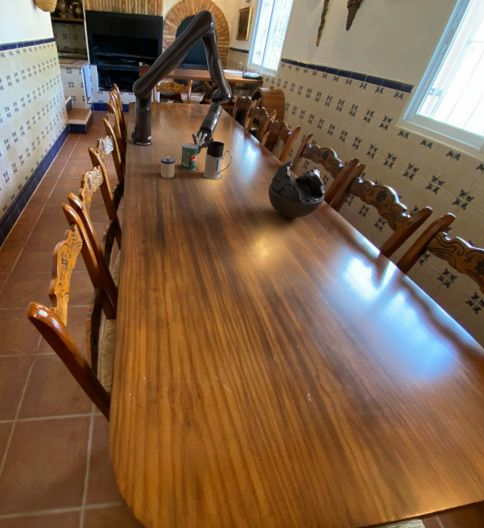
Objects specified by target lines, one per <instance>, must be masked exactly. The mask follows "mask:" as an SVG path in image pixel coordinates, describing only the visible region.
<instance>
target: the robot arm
mask: <svg viewBox="0 0 484 528" xmlns="http://www.w3.org/2000/svg"><path fill="white" fill-rule="evenodd" d="M215 20H216V19H215V16H214V15H213V13H212V12H211V11H210V10H209V9H202V10H200V11H199V12H197V14H196V15H195V16H194V17H193V19H192V20H191V22H189V25H187V27H186V28H185V30H183V31H182V32H181V33H180V35H179V36H177V37H176V38H175V39H174V40H173V41H172V42H171V43H170V44H169V45H168V46H167V47H165V49H164V51H162V52H161V54H160V55H159V56H158V57H157V59H156V60H155V61H154V63H153V64H152V66H150V68H149V69H148V70H147V71H146V72H145V73H144V74H143V75H142V76H140V77H139V78H138V79H137V80H136V81H134V83H133V85H132V93H133V95H134V97H135V101H134V102H135V103H134V126H133V131H132V132H131V136H130V137H131V139H132V140H133V141H134V144H136V145H137V146H138V145H139V146H149V145H152V106H153V90H154V88H155V87H156V86H157V85H158V84H159V83H160V82H161V81H162V80H163V79H165V78H166V77H168V76H169V75H170V74H171V73H172V72H173V71H174V70H176V69H177V67H179V65H181V63H182V62H183V61H184V60H185V58H186V57H187V56H188V54H189V52H190V51H191V50H192V48H193V47H194V46H195V45H196V44H197V43H198V42H199V41H200V40H201V41H202V44H203V47H204V51H205V57H206V62H207V63H206V64H207V69H208V73H209V77H210V82H211V84H212V85H217V87H218V88H217V89H215V90H214V91H213V92H212V94H211V97H210V102H209V103H210V104H209V107H208V109H207V112H206V113H205V115H204V117H203V120H202V122H201V124H200V125H199V129H198V131H197V132H196V133H192V134H191V136H192V140H193V144H196V145H198V155H200V154H201V152H202V149H207V147H208V142H210V141H215V139H214V138H213V135H214V133H215V131H216V128H217V126H218V124H219V120H220V118H221V115H222V113H223V106H222V104H225V103H227V102H229V101H230V100H231V99H232V97H233V96H232V95H233V93H232V88H231V86H230V84H229V82H228V80H227V78H226V76H225V72H224V66H223V62H222V59H221V55H220V52H219V48H218V43H217V42H218V41H217V36H216V21H215Z"/></svg>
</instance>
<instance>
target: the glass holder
mask: <svg viewBox="0 0 484 528" xmlns="http://www.w3.org/2000/svg"><path fill="white" fill-rule="evenodd" d="M224 148H225V143H224V142H222V141H219V140H218V141H216V140H214V141H210V142H208V147H207V148H206V153H205V160H204V161H205V162H204V170H203V174H202V177H204V178H206V179H210V180H218V179H220V178H222V176H221V172H224V171H225V170H226V169H228V168H229V167H230V165H231V164H232V161H233V153H232V151H231V150H226V151H225V152H224V150H225V149H224ZM227 153H229V154H230V160H229V163H228V165H227V166H226V167H225V168H223V169H222V165H223V160H224V159H225V158H226V154H227Z"/></svg>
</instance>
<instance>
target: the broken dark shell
mask: <svg viewBox="0 0 484 528" xmlns="http://www.w3.org/2000/svg"><path fill="white" fill-rule="evenodd" d="M292 165H293V161H287V162H285V164H282V165H280V166H278V167H277V171H276V173H275V174H274V175H273V177H272V179H271V183H270V184H269V186H268V193H267V194H268V199H269V203H270V205H271V206H272V208H273V209H274V211H276V212H277V213H278V214H280V216H284V217H286V218H290V219H298V218H303V217H306V216H309V215H310V214H312V213H314V212H315V211H316V210H317V209H318V208H319V207H320V206H321V205H322V203H323V202H324V199H325V189H324V188H325V186H324V182H323V179H322V178H321V177H320V175H321V171H320V169H318V168H313V169H310V170H307V171H305V172H302V173H301V175H299V176H297V177H295V178H293V177H292V176H291V172H290V168H291V167H292Z"/></svg>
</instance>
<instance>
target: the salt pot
mask: <svg viewBox="0 0 484 528" xmlns="http://www.w3.org/2000/svg"><path fill="white" fill-rule="evenodd" d="M175 167H176V158H175V157H173V156H170V155H167V156H162V157H161V158H160V176H161V178H164V179H171V178H174V177H175V169H176V168H175Z"/></svg>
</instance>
